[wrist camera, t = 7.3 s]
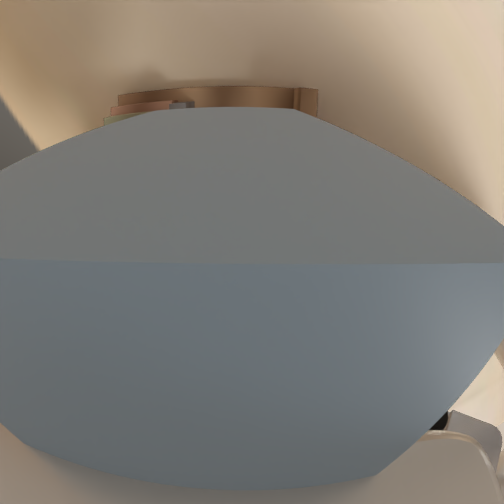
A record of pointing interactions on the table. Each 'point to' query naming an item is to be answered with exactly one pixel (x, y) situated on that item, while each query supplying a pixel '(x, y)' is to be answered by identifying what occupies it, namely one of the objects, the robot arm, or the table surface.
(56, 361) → the book
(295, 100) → the shelf
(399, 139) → the table surface
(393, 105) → the table surface
